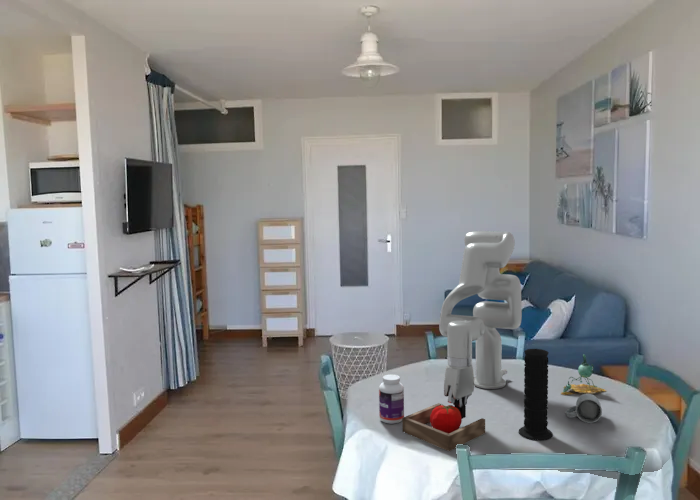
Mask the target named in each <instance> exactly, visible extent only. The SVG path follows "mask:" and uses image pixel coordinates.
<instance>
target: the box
mask: <svg viewBox="0 0 700 500" xmlns="http://www.w3.org/2000/svg"><path fill="white" fill-rule="evenodd" d="M441 405H442V403H439V402H438V403H435V404H433V405H430V406H428V407H426V408H423V409H420V410H417V411H416V412H414V413H412V414H411V413H410V414H408V415H406V416H404V417H403V418H402V421H401V424H402V425H401V426H402V433H404V432H405V434H406V433H407V435H409V436H411V435H412V437H414V438H417V439H419V440H421V441H423V442H425V443H428V444H430V445H432V446H436V447H438V448H440V449H442V450H444V451H447V452H451V451H452V450H455V449H456V448H455V447H456V445H457V444H463V445H465V444H467V443H469V442H471V441H473V440H476V439H477V438H479V437H480V436H483V435H484V434H486V418H483V417H481V418H479V419H477V420H475V421H473V422H470V423H469V424H466V425H465V426H462V427H460V428H459V429H458V430H456V431H453V432H451V433H449V434H448V433H445V432H442V431H440V430H437V429H435V428H433V427H432V426H429V425H427V424H431V423H430V415H431V413H432V410H433V409H434V408H435V407H437V406H441Z"/></svg>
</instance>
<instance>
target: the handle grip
mask: <svg viewBox="0 0 700 500" xmlns="http://www.w3.org/2000/svg"><path fill="white" fill-rule="evenodd" d="M548 355H549V351H548V350H546V349H541V348H527V349H525V350H524V358H523V359H524V363H523V364H524V365H523V366H524V369H523V372H524V379H523V380H524V381H523V382H524V383H523V386H524V390H523V393H524V395H523V397H524V399H523V403H524V404H523V405H524V406H523V407H524V408H523V413H524V414H523V417H524V419H523V426H521V427H520V428H519V429H518V432H517V433H518V435H520V436H521V438H525V439H527V440H530V441H536V442H537V441H539V442H541V441H548V440H551V439H552V438H553V436H554V435H553V432H552V431H551V430H550V429H549V428H548V414H549V411H548V409H549V407H548V403H549V401H548V399H549V396H548V394H549V390H548V389H549V386H548V383H549V379H548V378H549V376H548V375H549V357H548Z"/></svg>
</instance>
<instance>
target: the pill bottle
mask: <svg viewBox="0 0 700 500" xmlns="http://www.w3.org/2000/svg"><path fill="white" fill-rule="evenodd" d="M378 398H379V399H378V407H379V408H378V409H379V413H378V414H379V420H380V421H381V422H383V423H385V424H391V425H394V424H398V423H402V418H403V417H405V387H404V385H403V383H401V377H400V376H399V375H398V374H385V375H383V376H382V382H381V383H380V385H379V386H378Z"/></svg>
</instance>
